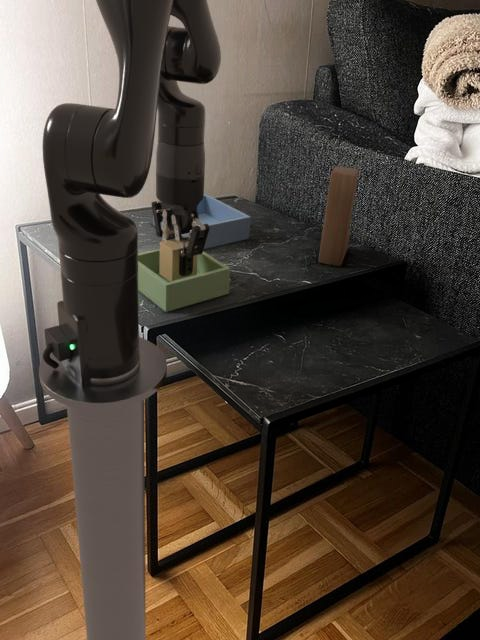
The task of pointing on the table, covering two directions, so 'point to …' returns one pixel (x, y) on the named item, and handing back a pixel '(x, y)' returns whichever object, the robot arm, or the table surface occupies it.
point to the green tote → (181, 281)
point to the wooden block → (338, 215)
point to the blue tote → (221, 222)
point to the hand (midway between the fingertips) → (178, 269)
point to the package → (173, 260)
